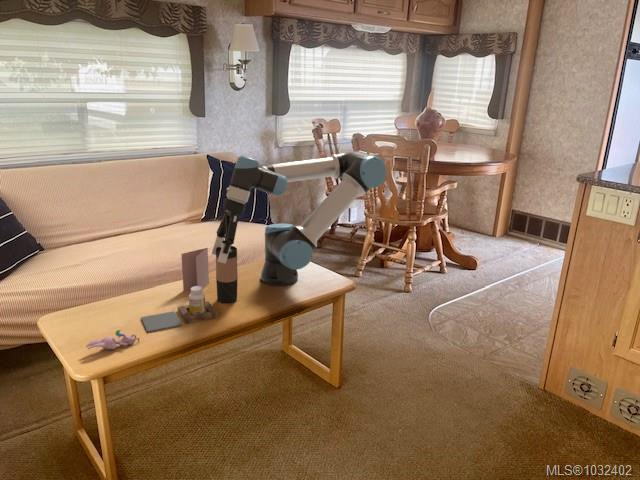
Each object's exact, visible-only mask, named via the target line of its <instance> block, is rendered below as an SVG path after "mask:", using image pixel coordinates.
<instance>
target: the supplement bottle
mask: <svg viewBox="0 0 640 480" xmlns="http://www.w3.org/2000/svg"><path fill="white" fill-rule="evenodd" d="M205 302H206V295H205V293H204V289H202V287H200V286H194V287H192V288H191V289H190V293H189V295H188V305H189V310H190V311H189V314H190V315H196V314H201V313H207V312H206V309H205Z"/></svg>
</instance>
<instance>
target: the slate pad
mask: <svg viewBox="0 0 640 480" xmlns="http://www.w3.org/2000/svg"><path fill="white" fill-rule="evenodd" d="M140 319H141V322H142V324H143V326H144V328H145V330H146V332H147V333H148V334H149V333H153V332H158V331H163V330H168V329H174V328H179V327H182V326H183V323H182V321H181V320H180V318H179V317H178V315H177V313H176V312H175V311H174V310H173V311H169V312H164V313H163V312H162V313H156V314H152V315H146V316H141V318H140Z"/></svg>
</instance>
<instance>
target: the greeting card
mask: <svg viewBox="0 0 640 480" xmlns="http://www.w3.org/2000/svg"><path fill="white" fill-rule="evenodd" d="M208 249H209V248H208V247H205V248H201V249H200V248H199V249H196V250H192V251H188V252H184V253H181V254H180V255H181V270H182V271H181V272H182V287H183V291H188V290H191V288H192V287H194V286H200V287H202V289H203V290H204V289H206V287H207V286H208V285H209V284H210V277H209V276H210V275H209V274H210V273H209V253H208V252H209V250H208Z"/></svg>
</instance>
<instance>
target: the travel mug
mask: <svg viewBox="0 0 640 480" xmlns="http://www.w3.org/2000/svg"><path fill="white" fill-rule="evenodd" d="M221 248H222V247H217V248H216V255H215V282H216V297H217V302H218V303H219V304H223V305H228V304H234V303H235V302H236V301H238V277H239V276H238V248H237V247H236V246H233V245H231V248H230V251H229V254H228V257H227V260H226V264H225V263H221V262H218V258H219V255H220V251H221Z"/></svg>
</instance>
